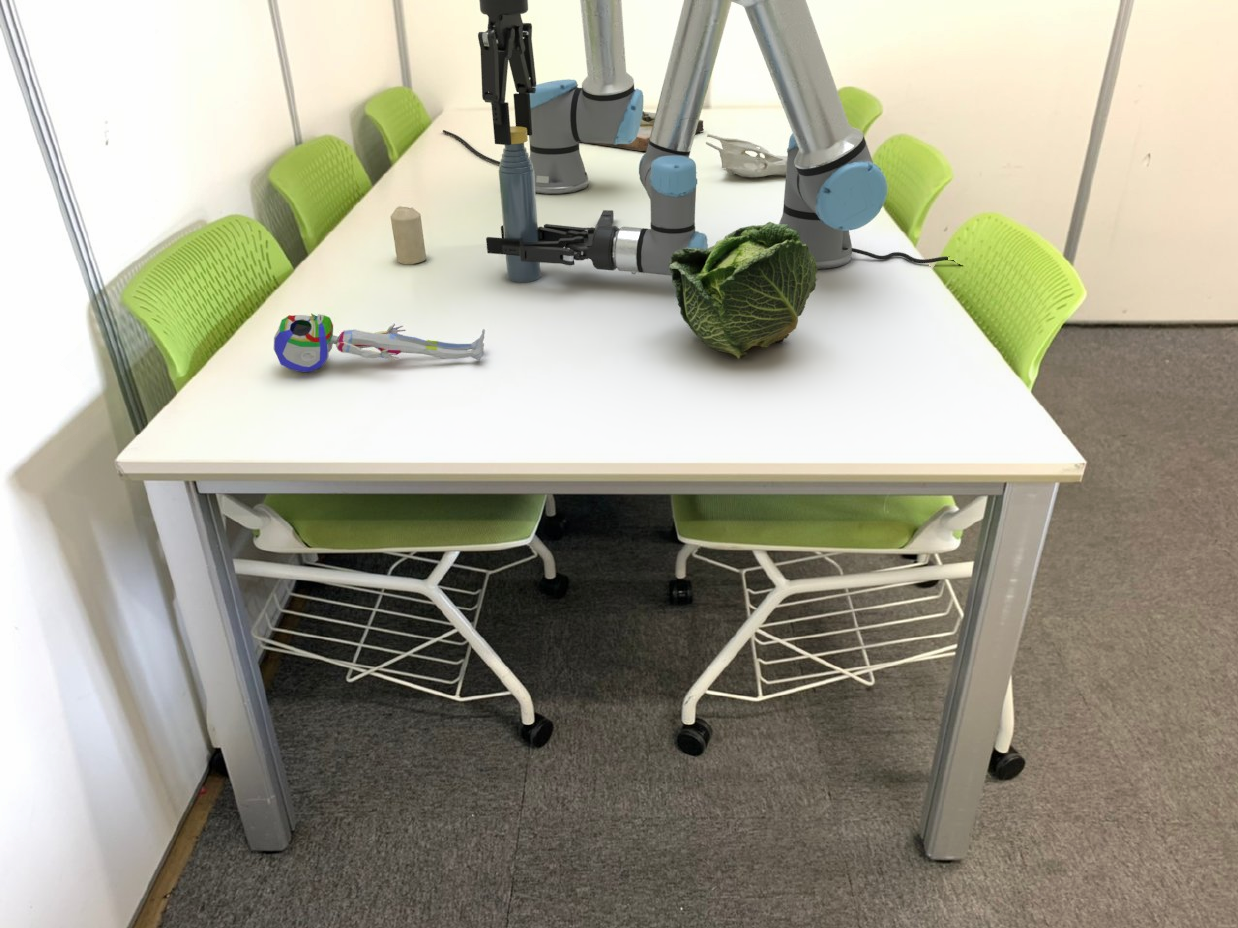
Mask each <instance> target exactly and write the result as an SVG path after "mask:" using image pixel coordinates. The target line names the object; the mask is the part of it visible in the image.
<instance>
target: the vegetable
mask: <svg viewBox="0 0 1238 928" xmlns="http://www.w3.org/2000/svg"><path fill="white" fill-rule="evenodd" d="M800 241H801V240H800V237H799V234H798V232H797V231H794V230H792V229H790V228H788V224H779V223H775V222H771V221H768V222H766V223H765V224H760V225H758V224H757V225H753V224H752V225H748V226H744V227H739V228H738V229H736V230H733V231H732V232H731V233H728V234H726V235H725V236H724V238H723V239H719V240H718V241H716V243H715V244H714V245H712V246H711V247H708V249H700V248H684V249H680V250H678V251H677V252H674V253H673V254H672V255H671V260H670V263H669V268H670V271H671V275H672V276H671V284H672V285H673V287H674V288H675V289H676V290H675V297H676V301H677V306H679V309H680V312H679V314H680V316H681V317H682V319H683V321H684V322H685V323H686V325H688V327H689V329H690V330H691V331H692V333H693V334H695V335H696V337H698V338H700V339H701V340H702V342H704V343H705V344H706V345H707V346H709V347H710V348H711V349H713V350H715V351H718V352H722V353H726V354H731V355H733V356H735V357H736V358H737V359H739V360H740V359H741V357H742V356H748V354H747V352H745V351H748V350H749V349H750V348H752V347H755V346H756V347H757V346H758V347H762V348H768V347H769V346H771V344H774V343H783V342H784V340H786V339H788V337H789V336H790V334H791V333H793V332H794V330H796V329H797V325H798V323H799V317H800V316H802V314H803V312H804V310H805V309H806V308H805V307H806V304H807V300H808V299H809V297H810V294H811V293H812V292H813V291H815V290H816V286H817V283H816V282H817V281H818V278H817V273H818V272H817V271H818V269H817V268H818V267H817V265H816V263H815V258H814V257H813V256H812V255H811V253H810V252H809V248H808V247H807V245H806V244H801V242H800Z"/></svg>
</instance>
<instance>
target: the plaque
mask: <svg viewBox="0 0 1238 928" xmlns="http://www.w3.org/2000/svg"><path fill="white" fill-rule="evenodd" d="M655 115H656V112H650V111H644V110H643V113H642V119H641V124H640V128H639V132H638V135H637V137H636V139H635V140H634V141H633V142H632V143H629V144H617V145H614V144H607V143H591V144H593V145H597V146H598V145H599V146H607V147H612V148H620V149H625V150H632V151H640V152H646V151H647V147H648V144H649V139H650V135H651V131H652V127H653V123H654V119H655ZM704 130H705V129H704V120H702V119H699V122H698V125H697V129H696V132H695V135H696V134H698V133H700V132H704ZM584 143H586V144H590V143H589V142H584Z"/></svg>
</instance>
